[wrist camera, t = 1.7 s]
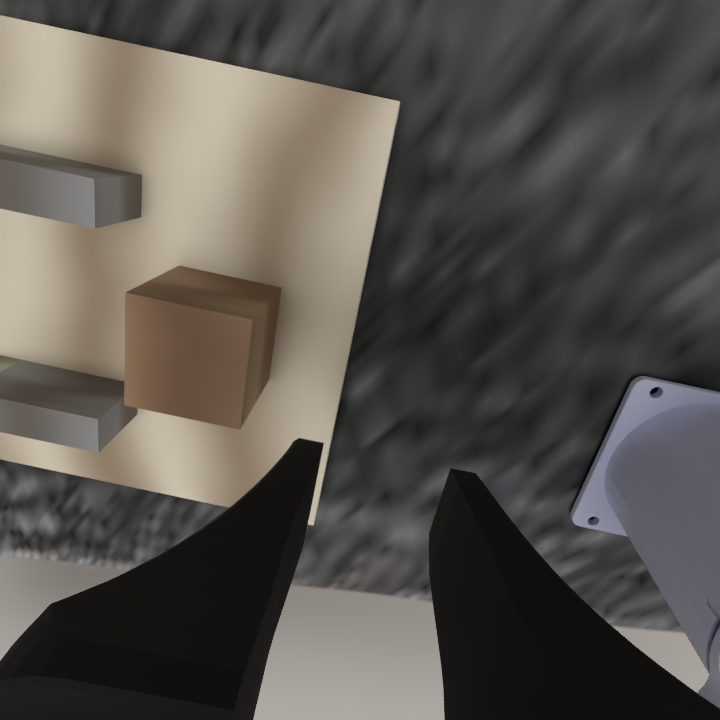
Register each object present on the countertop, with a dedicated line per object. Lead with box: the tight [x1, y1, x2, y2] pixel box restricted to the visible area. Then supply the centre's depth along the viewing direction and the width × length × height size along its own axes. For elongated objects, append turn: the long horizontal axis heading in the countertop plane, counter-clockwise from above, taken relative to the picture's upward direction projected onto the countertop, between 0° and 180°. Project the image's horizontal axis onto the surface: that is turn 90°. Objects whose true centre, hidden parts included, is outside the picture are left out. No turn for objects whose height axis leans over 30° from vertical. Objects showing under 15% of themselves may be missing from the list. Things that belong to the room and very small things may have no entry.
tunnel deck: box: [0, 15, 400, 525], centre depth 19 cm, size 27×18×5 cm, turn 79°
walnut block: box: [124, 266, 282, 430], centre depth 18 cm, size 4×4×4 cm
